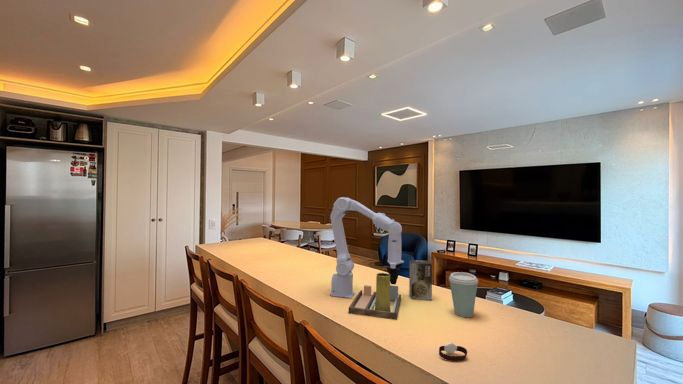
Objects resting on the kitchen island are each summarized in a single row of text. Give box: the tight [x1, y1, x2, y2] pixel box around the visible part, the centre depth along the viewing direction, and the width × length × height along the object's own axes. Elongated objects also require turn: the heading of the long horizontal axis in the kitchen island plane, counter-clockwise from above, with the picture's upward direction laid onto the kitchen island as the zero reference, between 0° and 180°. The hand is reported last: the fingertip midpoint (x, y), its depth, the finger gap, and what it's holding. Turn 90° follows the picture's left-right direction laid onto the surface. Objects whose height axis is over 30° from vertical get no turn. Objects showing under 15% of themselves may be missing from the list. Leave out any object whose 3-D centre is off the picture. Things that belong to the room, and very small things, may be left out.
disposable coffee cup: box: [448, 271, 479, 318], centre depth 109 cm, size 11×11×15 cm
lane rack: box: [348, 289, 402, 321], centre depth 115 cm, size 18×22×2 cm
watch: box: [438, 342, 468, 362], centre depth 79 cm, size 8×5×4 cm, turn 92°
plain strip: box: [355, 284, 373, 309], centre depth 117 cm, size 5×20×5 cm, turn 164°
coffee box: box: [408, 259, 433, 301], centre depth 127 cm, size 9×6×16 cm
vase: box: [374, 272, 392, 312], centre depth 110 cm, size 6×6×14 cm
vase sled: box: [370, 284, 399, 313], centre depth 115 cm, size 9×20×6 cm, turn 164°
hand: (394, 281), depth 123 cm, fingers open, 7 cm apart
